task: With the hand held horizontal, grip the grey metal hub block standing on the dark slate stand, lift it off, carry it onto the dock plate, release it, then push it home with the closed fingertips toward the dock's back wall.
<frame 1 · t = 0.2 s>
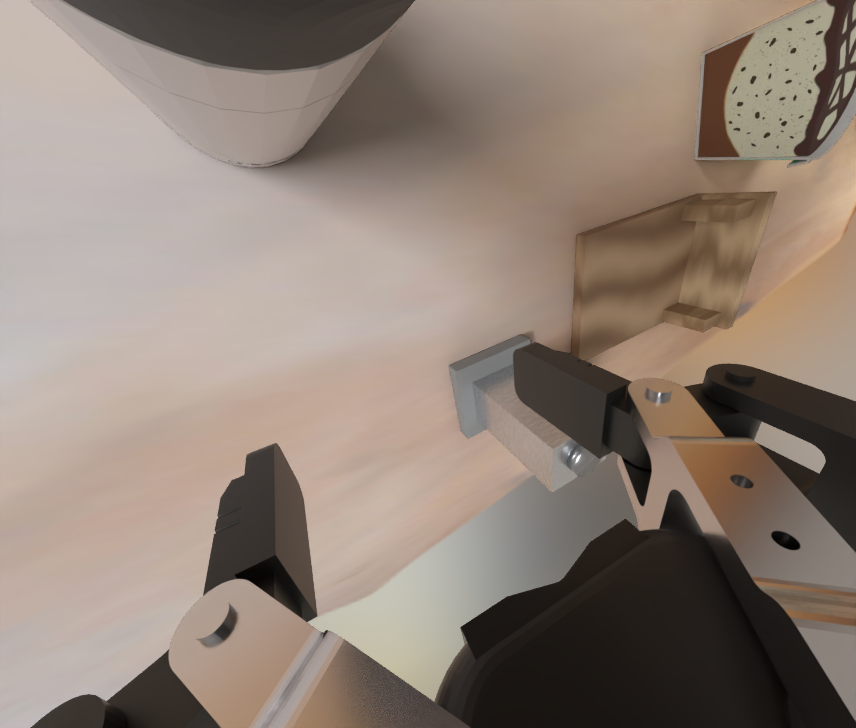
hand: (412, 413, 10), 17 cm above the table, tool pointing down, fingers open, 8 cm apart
hub block: (498, 390, 35), point 1 cm above the table, touching stand
food container: (715, 98, 34), on the table
stand: (489, 384, 36), on the table
dock: (632, 279, 39), on the table
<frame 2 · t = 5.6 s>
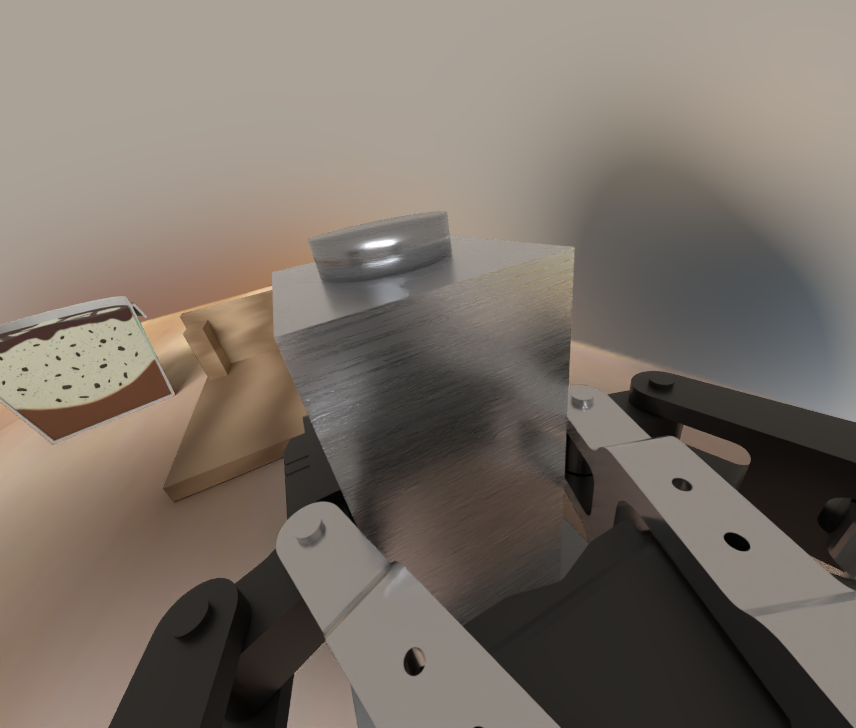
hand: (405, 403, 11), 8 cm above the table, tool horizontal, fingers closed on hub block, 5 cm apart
hub block: (451, 548, 13), point 1 cm above the table, touching gripper, stand
food container: (122, 407, 33), on the table
stand: (456, 571, 13), on the table
dock: (291, 388, 30), on the table
when the fingers open (8 cm above the table, at t = 11.2 s): hub block drops 1 cm, point 1 cm above the table.
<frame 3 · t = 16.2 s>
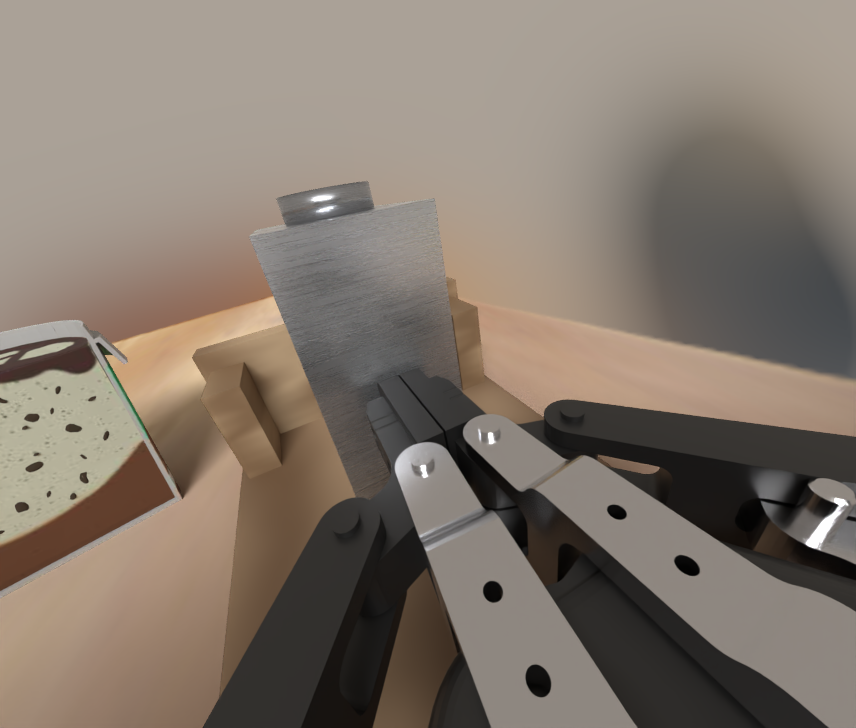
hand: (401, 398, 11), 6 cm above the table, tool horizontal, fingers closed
hub block: (399, 453, 16), point 1 cm above the table, touching gripper
food container: (85, 521, 18), on the table
dock: (420, 506, 15), on the table
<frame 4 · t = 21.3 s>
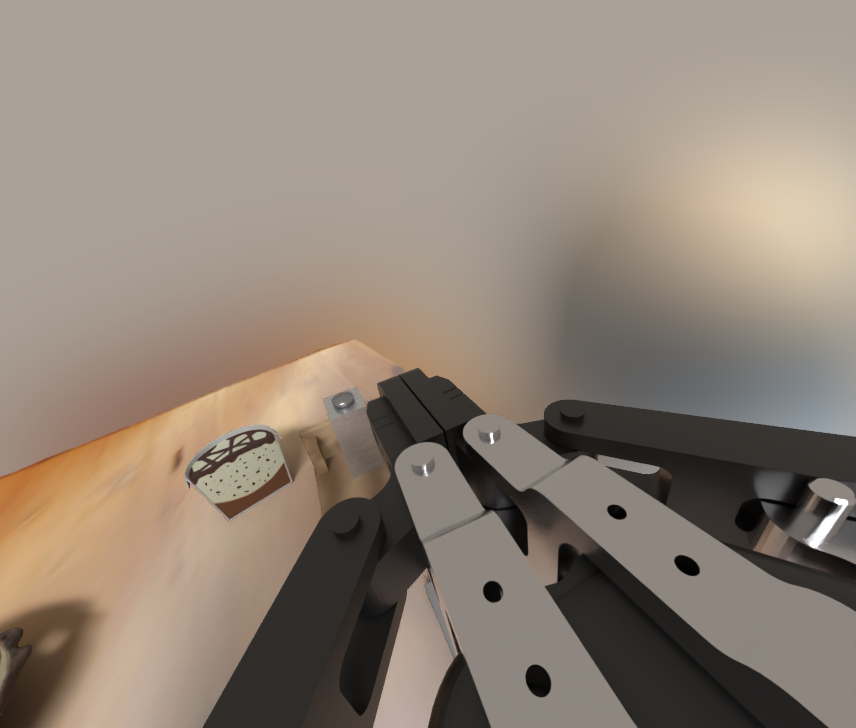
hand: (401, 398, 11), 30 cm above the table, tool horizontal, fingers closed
hub block: (364, 459, 50), point 1 cm above the table, touching dock
food container: (258, 490, 50), on the table
stand: (487, 613, 31), on the table
dock: (373, 484, 47), on the table
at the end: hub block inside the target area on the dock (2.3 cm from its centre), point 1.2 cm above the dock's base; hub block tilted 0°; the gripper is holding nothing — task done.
